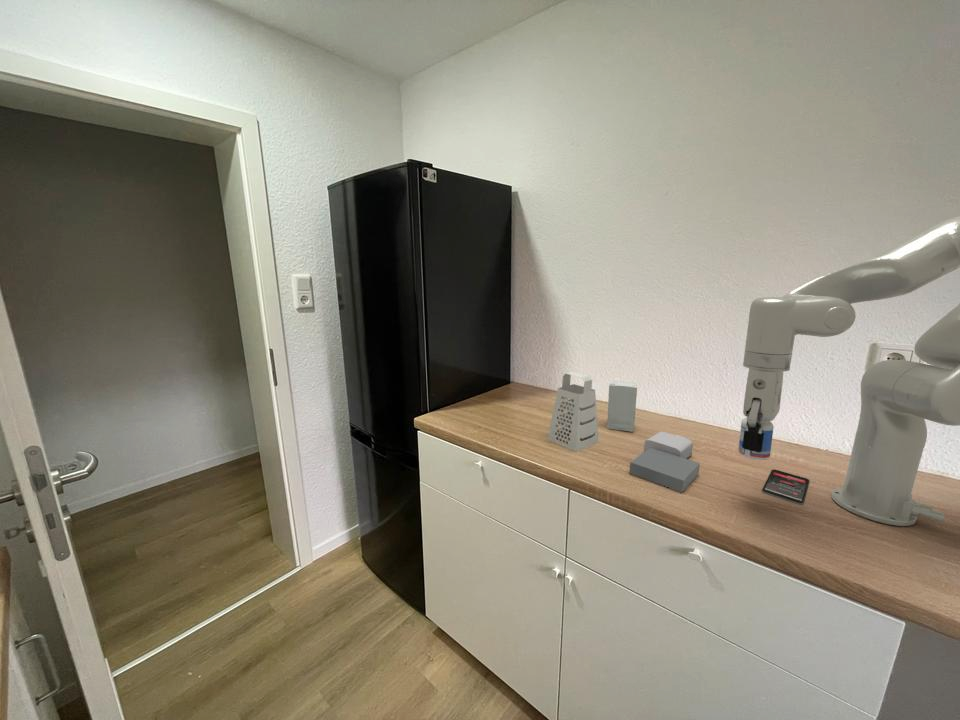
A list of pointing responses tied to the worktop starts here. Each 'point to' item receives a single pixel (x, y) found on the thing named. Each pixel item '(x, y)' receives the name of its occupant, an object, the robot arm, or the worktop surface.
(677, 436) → the charger
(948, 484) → the worktop surface
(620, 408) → the skincare box
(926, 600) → the worktop surface
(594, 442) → the grater
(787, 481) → the smartphone
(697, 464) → the grey pad
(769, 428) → the pill bottle
